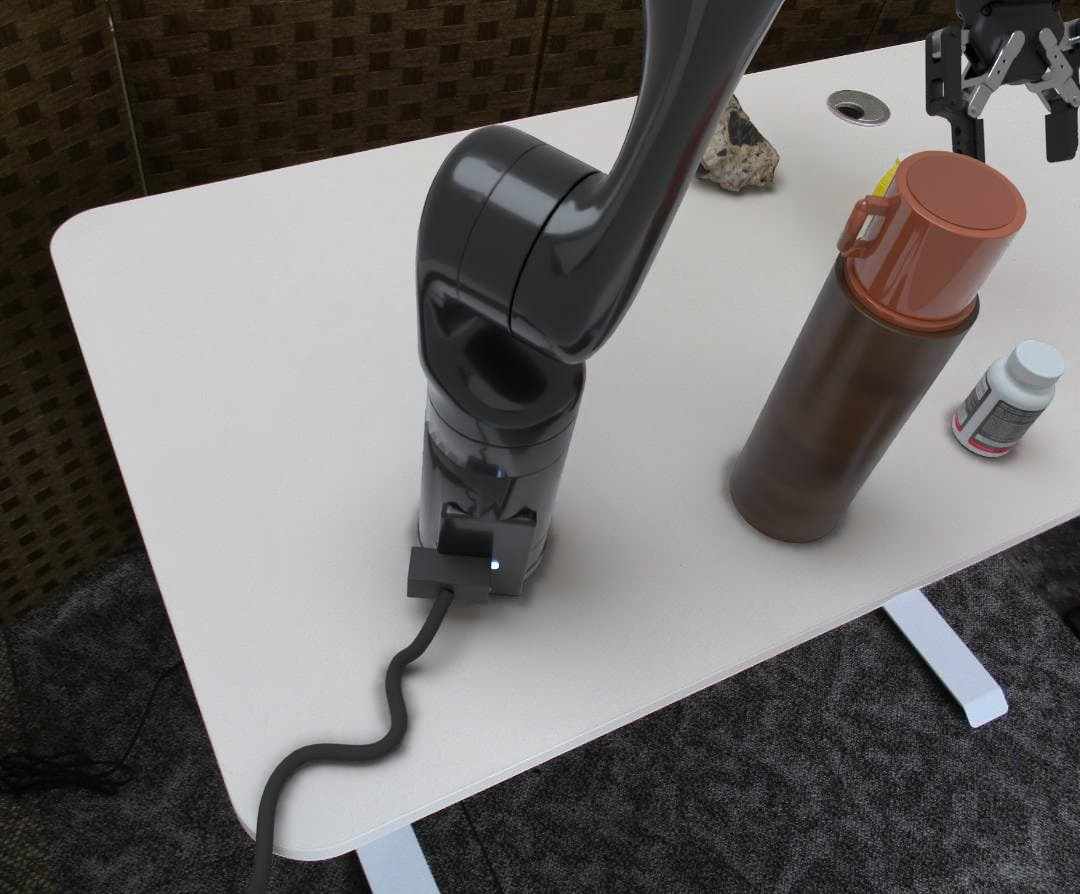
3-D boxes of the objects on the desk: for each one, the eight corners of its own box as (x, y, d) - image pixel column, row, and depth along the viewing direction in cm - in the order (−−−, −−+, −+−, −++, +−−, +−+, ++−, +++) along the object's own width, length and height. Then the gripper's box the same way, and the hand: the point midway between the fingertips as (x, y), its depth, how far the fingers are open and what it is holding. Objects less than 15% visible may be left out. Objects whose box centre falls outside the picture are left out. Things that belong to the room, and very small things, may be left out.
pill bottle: (1024, 444, 85) (1089, 369, 77) (983, 468, 83) (1046, 394, 75) (977, 400, 88) (1035, 324, 80) (937, 423, 85) (992, 346, 78)
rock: (752, 122, 106) (698, 74, 99) (804, 134, 101) (751, 83, 94) (713, 198, 107) (657, 155, 100) (762, 213, 102) (707, 169, 95)
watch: (877, 225, 100) (901, 177, 96) (857, 209, 102) (880, 161, 97) (914, 207, 103) (940, 160, 98) (895, 191, 104) (919, 144, 100)
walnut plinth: (848, 548, 76) (996, 346, 58) (734, 537, 76) (847, 329, 57) (831, 454, 82) (961, 242, 63) (725, 443, 81) (825, 225, 63)
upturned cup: (986, 339, 58) (1051, 248, 53) (832, 321, 57) (881, 227, 52) (956, 247, 63) (1012, 154, 57) (813, 229, 62) (856, 134, 57)
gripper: (964, -74, 68) (976, 170, 71) (1126, -81, 72) (1131, 151, 75) (894, -39, 75) (907, 182, 78) (1045, -46, 79) (1052, 164, 82)
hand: (1017, 166), depth 76 cm, fingers open, 8 cm apart
